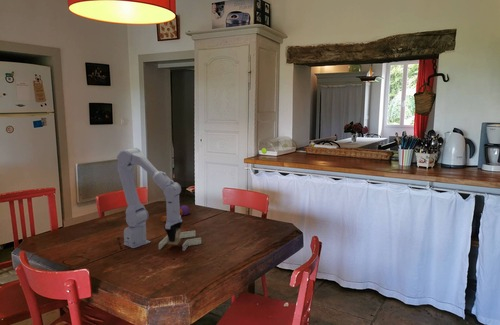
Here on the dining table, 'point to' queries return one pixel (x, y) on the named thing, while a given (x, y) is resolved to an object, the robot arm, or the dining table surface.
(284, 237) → the dining table surface
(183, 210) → the kendama
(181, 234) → the rail track
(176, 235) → the maple block
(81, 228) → the dining table surface
